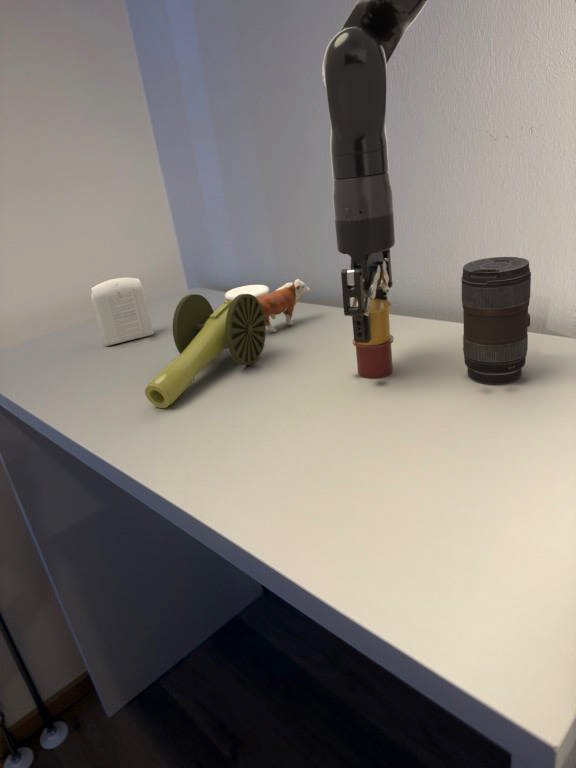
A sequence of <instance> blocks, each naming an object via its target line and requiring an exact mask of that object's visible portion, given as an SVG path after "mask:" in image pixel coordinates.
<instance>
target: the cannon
mask: <svg viewBox="0 0 576 768" xmlns="http://www.w3.org/2000/svg"><path fill="white" fill-rule="evenodd" d="M266 333H267V326H266V324H265V317H264V312H263V309H262V306H261V304H260V302H259V301H258V300H257V298H256V297H254V296H253V295H251V294H240V295H238V296H237V297H235V298H234V300H233V301H232V300H229V299H227V300H226V299H225V300H224V302H223V303H222V304H221V305H220V306H219V307H218V308H217V309H215V310H214V309H213V307H212V305H211V303H210V301H209V300H208V299H207V298H206V297H205V296H203V295H201V294H197V293H196V294H195V293H194V294H193V293H192V294H187V295H185V296H184V297H182V298H181V299H180V301H179V302H178V304H177V305H176V307H175V310H174V313H173V317H172V336H173V342H174V344H175V347H176V350H177V351H178V353H179V355H178V356H177V357H176V358H173V359H172V360H171V361H170V362H169V363H168V364H167V365H166V366H165V367H164V368H163V369H161V371H160V372H158V373H157V374H156V376H154V377H153V378H152V379H151V380H150V381H149V382H148V383H147V386H146V387H145V389H144V391H145V392H144V394H145V397H146V398H147V400H148V401H149V402H150V403H151V404H152V405H153V406H155V407H157V408H160V409H167V408H168V407H169V406H171V405H172V404H173V403H174V402H175V401H177V400H178V398H179V397H180V396H181V395H182V394H183V393H184V391H186V389H187V388H188V387H189V386H190V385H191V384H192V383H193V382H194V380H195V378H196V377H197V375H198V374H199V373H200V372H202V371H203V370H204V369H205V368H206V367H207V366H208V365H209V364H210V363H212V361H213V360H215V359H216V358H217V357H218V356H219V355H220V354H221V353H222V352H224V351H225V350H227V349H228V352H229V354H230V356H231V358H232V359H233V360H234V361H235V363H237V364H238V365H241V366H252V365H253V364H255V363H256V362H257V361H258V360H259V359H260V357H261V354H262V352H263V350H264V346H265V342H266Z"/></svg>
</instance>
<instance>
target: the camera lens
mask: <svg viewBox="0 0 576 768" xmlns="http://www.w3.org/2000/svg"><path fill="white" fill-rule="evenodd" d="M461 275H462V276H461V279H460V280H461V306H462V310H463V311H462V312H463V314H462V315H463V336H462V352H463V358H464V365H465V366H466V367H467V375H468V377H469V378H470V379H471V380H472V381H474V382H478V383H480V384H485V385H506V384H511V383H514V382H516V381H518V380H520V378H521V376H522V368H524V366H525V365H526V360H527V353H528V345H529V344H528V343H529V335H528V328H529V327H530V326H531V315H530V313H529V306H530V301H531V300H530V299H531V286H532V285H531V284H532V272H531V269H530V261H529V260H528V259H526V258H524V257H517V256H495V257H486V258H480V259H476V260H473V261H470V262H467V263H465V264H464V265H463V267H462V274H461Z"/></svg>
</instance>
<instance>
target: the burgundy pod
mask: <svg viewBox="0 0 576 768" xmlns="http://www.w3.org/2000/svg"><path fill="white" fill-rule="evenodd" d="M394 340H395V339H394V335H392V334H391V333H390V340H389V341H387V342H385V343H383V344H379V345H372V346H366V345H359V344H357V343H356V342H355V341H354V338H352V340H351V341H352V345H353V346H354V347H355V353H356V366H357V374H358V375H359V376H360V377H362V378H366V379H381V378H385V377H388V376H390V375H391V374H392V373H393V371H394V370H393V353H392V352H393V351H392V343H394Z"/></svg>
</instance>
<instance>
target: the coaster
mask: <svg viewBox="0 0 576 768" xmlns="http://www.w3.org/2000/svg"><path fill="white" fill-rule="evenodd" d="M268 293H270V288H269V287H268V286H267V285H265V284H249V285H243V286H238V287H235V288H232V289H229V290H228V291H226V292H225V293H224V298H225V301H226V300H227V299H229V300H232V301H233V300H234V298H235V297H237V296H238V295H240V294H251V295H253V296H254V297H258V296H261V295H265V294H268Z"/></svg>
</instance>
